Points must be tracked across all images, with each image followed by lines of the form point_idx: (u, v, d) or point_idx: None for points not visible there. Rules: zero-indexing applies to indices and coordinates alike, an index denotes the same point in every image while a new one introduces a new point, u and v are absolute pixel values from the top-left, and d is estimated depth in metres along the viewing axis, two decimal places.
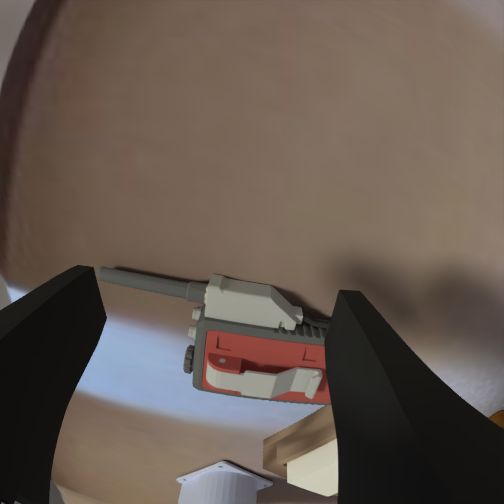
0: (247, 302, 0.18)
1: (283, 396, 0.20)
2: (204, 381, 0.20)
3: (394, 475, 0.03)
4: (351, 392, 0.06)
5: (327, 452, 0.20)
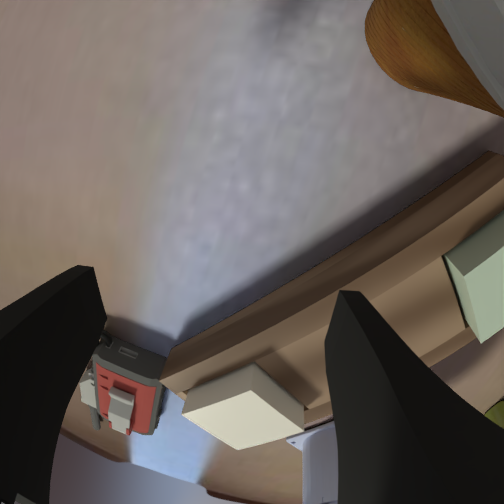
0: (83, 392, 0.25)
1: (145, 407, 0.23)
2: (138, 431, 0.26)
3: (394, 475, 0.03)
4: (351, 392, 0.06)
5: None
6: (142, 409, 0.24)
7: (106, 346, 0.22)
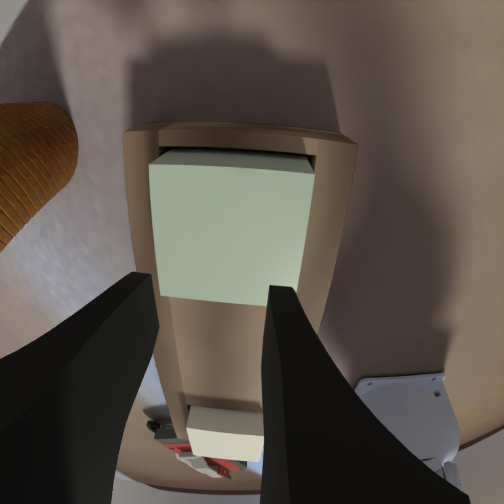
0: (185, 462, 0.33)
1: None
2: (234, 470, 0.31)
3: (276, 484, 0.03)
4: (269, 391, 0.06)
5: None
6: None
7: (158, 429, 0.29)
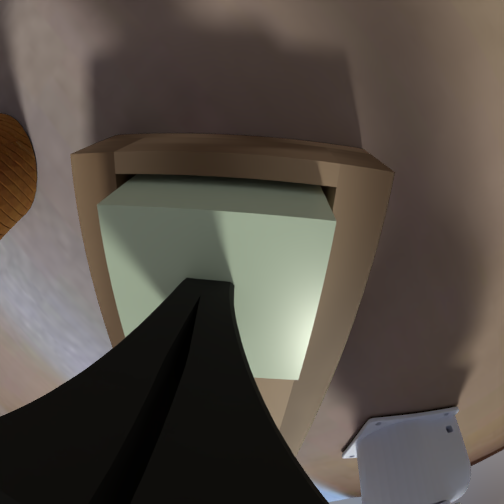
0: None
1: None
2: None
3: None
4: None
5: None
6: None
7: None
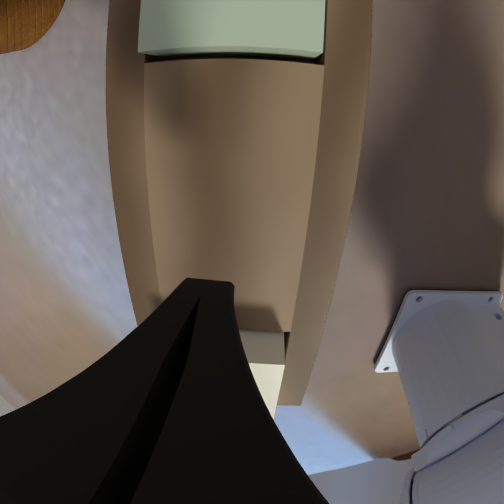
0: None
1: None
2: None
3: None
4: None
5: None
6: None
7: None
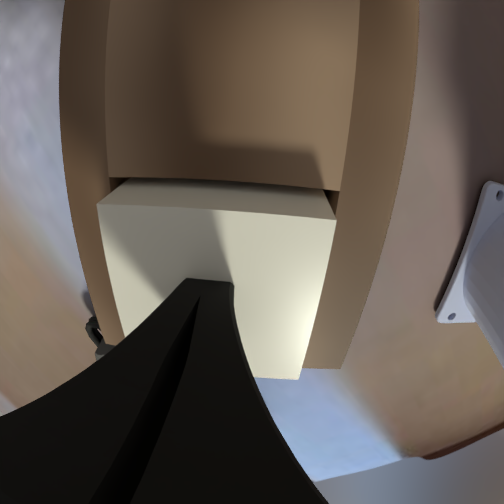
0: None
1: None
2: None
3: None
4: None
5: None
6: None
7: None
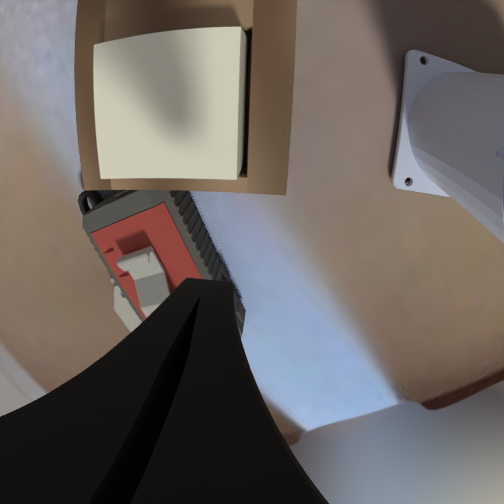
0: (128, 323, 0.21)
1: (183, 265, 0.17)
2: None
3: None
4: None
5: None
6: (183, 274, 0.17)
7: (96, 206, 0.17)
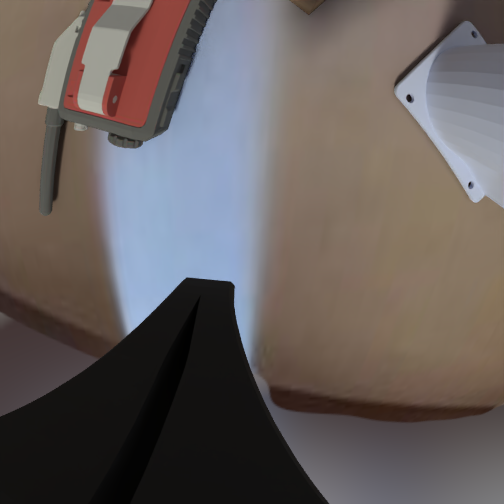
0: (51, 66, 0.12)
1: (169, 16, 0.11)
2: (125, 120, 0.13)
3: None
4: None
5: None
6: (160, 25, 0.11)
7: None
